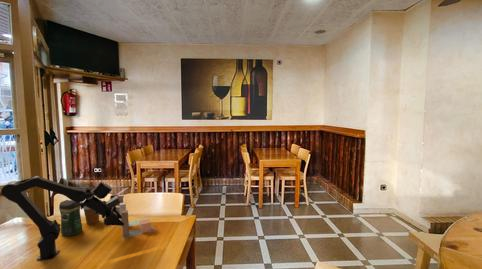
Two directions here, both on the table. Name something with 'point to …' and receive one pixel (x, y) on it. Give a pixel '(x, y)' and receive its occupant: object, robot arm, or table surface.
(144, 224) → the terracotta cube
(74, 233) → the coffee jar
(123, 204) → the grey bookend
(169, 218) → the table surface
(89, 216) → the disposable coffee cup
